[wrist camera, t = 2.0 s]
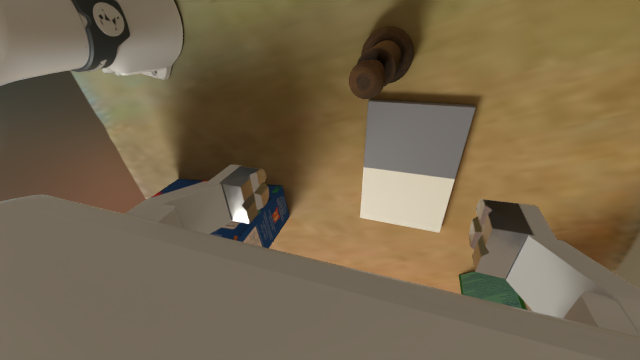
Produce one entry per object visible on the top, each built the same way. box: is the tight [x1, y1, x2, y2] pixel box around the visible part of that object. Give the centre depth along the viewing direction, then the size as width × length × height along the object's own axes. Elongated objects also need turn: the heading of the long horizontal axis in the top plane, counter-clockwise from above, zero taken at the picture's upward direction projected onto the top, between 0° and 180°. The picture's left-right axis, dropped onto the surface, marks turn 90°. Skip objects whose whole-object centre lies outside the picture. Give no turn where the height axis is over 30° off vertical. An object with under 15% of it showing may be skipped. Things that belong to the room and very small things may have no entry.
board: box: [360, 99, 476, 232], centre depth 42 cm, size 14×22×1 cm, turn 2°
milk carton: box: [459, 271, 532, 311], centre depth 39 cm, size 9×9×25 cm
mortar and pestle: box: [349, 27, 413, 99], centre depth 28 cm, size 7×6×18 cm
